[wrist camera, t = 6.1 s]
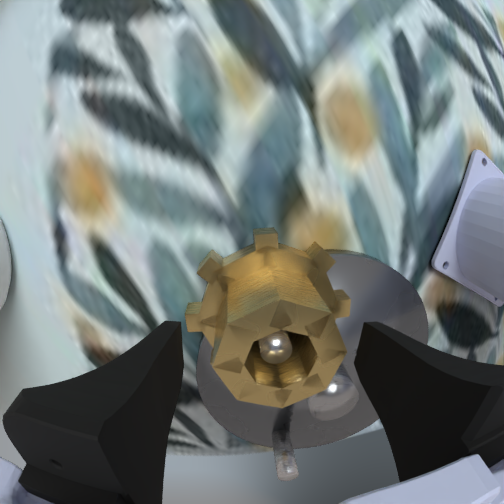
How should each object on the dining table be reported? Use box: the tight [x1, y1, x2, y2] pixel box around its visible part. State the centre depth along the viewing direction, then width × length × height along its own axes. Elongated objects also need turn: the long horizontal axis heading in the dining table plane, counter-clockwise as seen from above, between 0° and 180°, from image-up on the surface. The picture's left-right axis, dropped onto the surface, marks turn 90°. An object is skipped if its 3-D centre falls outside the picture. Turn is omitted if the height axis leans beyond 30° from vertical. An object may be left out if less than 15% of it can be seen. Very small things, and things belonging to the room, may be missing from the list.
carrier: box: [196, 249, 428, 481], centre depth 14 cm, size 14×14×5 cm
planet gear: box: [185, 227, 351, 408], centre depth 12 cm, size 7×7×4 cm
